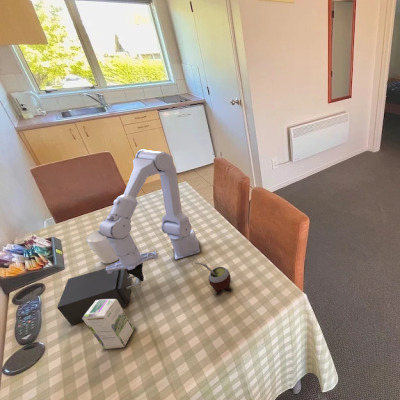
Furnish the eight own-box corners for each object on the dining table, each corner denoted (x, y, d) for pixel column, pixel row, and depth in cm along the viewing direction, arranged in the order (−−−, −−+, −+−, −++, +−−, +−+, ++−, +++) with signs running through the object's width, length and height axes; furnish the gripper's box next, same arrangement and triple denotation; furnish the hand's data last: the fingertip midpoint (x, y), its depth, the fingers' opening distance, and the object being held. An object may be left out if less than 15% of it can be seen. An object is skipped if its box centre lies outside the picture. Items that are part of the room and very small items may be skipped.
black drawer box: (129, 280, 98) (119, 263, 94) (125, 306, 89) (115, 288, 84) (80, 296, 93) (68, 278, 88) (71, 325, 83) (56, 307, 78)
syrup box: (115, 331, 81) (94, 299, 74) (135, 329, 81) (116, 297, 74) (104, 349, 76) (79, 317, 69) (125, 347, 76) (103, 315, 69)
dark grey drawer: (145, 274, 99) (138, 261, 96) (143, 296, 91) (136, 283, 87) (87, 293, 92) (77, 279, 89) (79, 318, 84) (68, 304, 80)
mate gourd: (236, 283, 96) (228, 252, 89) (223, 300, 90) (213, 268, 82) (219, 278, 98) (210, 247, 91) (205, 294, 92) (194, 263, 84)
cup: (112, 267, 104) (98, 243, 98) (93, 264, 106) (78, 240, 100) (130, 252, 112) (119, 229, 106) (112, 249, 114) (100, 226, 107)
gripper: (97, 266, 81) (116, 295, 88) (151, 250, 86) (165, 279, 93) (101, 252, 86) (119, 281, 93) (151, 238, 92) (164, 266, 99)
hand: (142, 279), depth 94 cm, fingers closed, pressing on dark grey drawer
